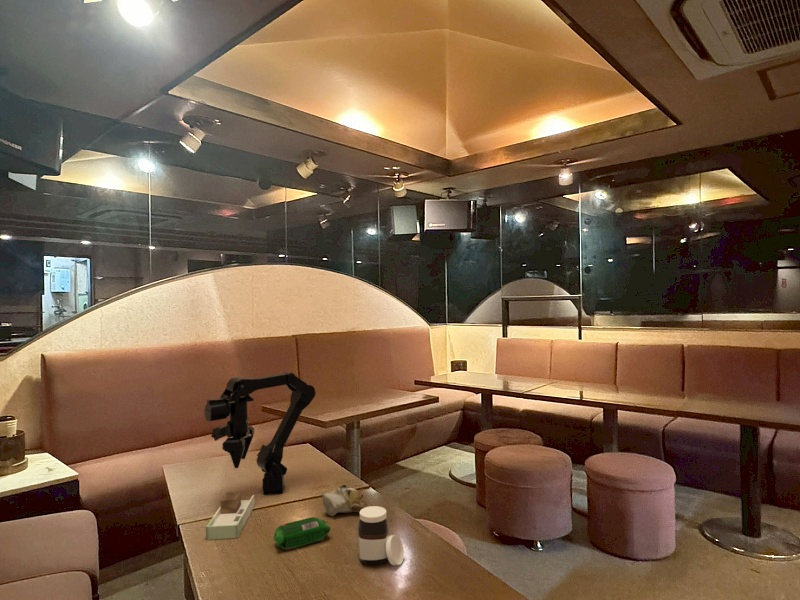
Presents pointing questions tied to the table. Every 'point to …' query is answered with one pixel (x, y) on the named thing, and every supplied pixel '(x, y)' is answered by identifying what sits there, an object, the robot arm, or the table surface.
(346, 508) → the ceramic sculpture
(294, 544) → the snack package
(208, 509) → the table surface
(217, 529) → the tray
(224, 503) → the walnut block
